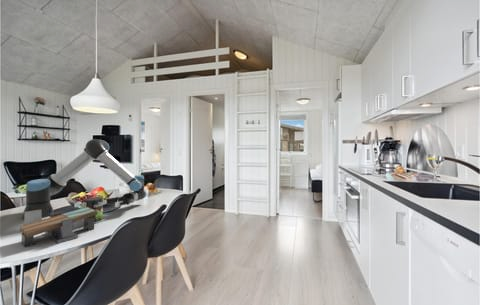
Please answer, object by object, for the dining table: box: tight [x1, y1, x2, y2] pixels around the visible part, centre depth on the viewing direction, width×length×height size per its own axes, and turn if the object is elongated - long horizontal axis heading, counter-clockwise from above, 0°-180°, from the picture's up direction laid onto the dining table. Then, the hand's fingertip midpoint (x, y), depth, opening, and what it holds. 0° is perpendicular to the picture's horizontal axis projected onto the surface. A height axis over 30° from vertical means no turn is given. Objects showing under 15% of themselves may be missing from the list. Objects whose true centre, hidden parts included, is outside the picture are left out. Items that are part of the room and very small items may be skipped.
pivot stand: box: [21, 212, 95, 248], centre depth 112 cm, size 20×28×10 cm
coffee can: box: [82, 196, 104, 224], centre depth 134 cm, size 10×10×14 cm
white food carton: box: [23, 210, 43, 226], centre depth 121 cm, size 4×7×10 cm, turn 138°
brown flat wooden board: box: [19, 207, 97, 238], centre depth 112 cm, size 15×28×2 cm, turn 144°
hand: (106, 204), depth 144 cm, fingers open, 13 cm apart
